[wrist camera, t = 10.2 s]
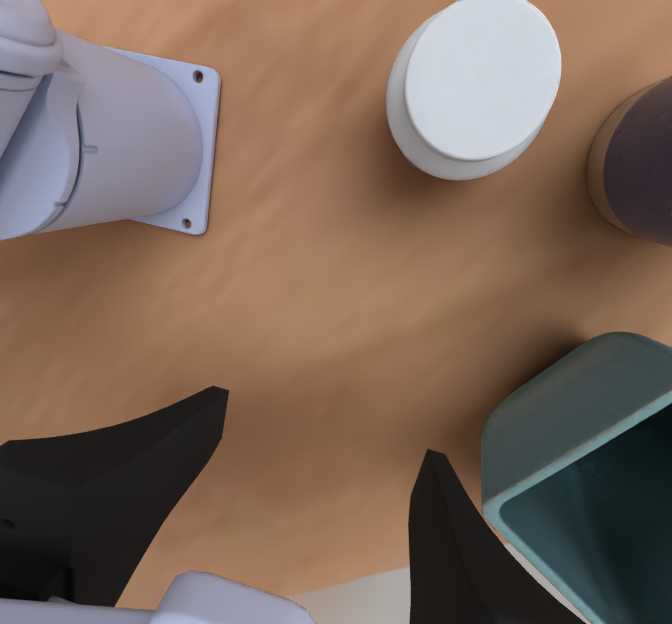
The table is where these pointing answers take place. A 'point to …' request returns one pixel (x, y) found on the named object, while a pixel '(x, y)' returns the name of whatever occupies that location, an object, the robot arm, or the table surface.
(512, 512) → the flower pot
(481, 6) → the pill bottle
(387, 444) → the table surface
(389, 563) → the table surface
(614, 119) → the tin can
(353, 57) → the table surface
